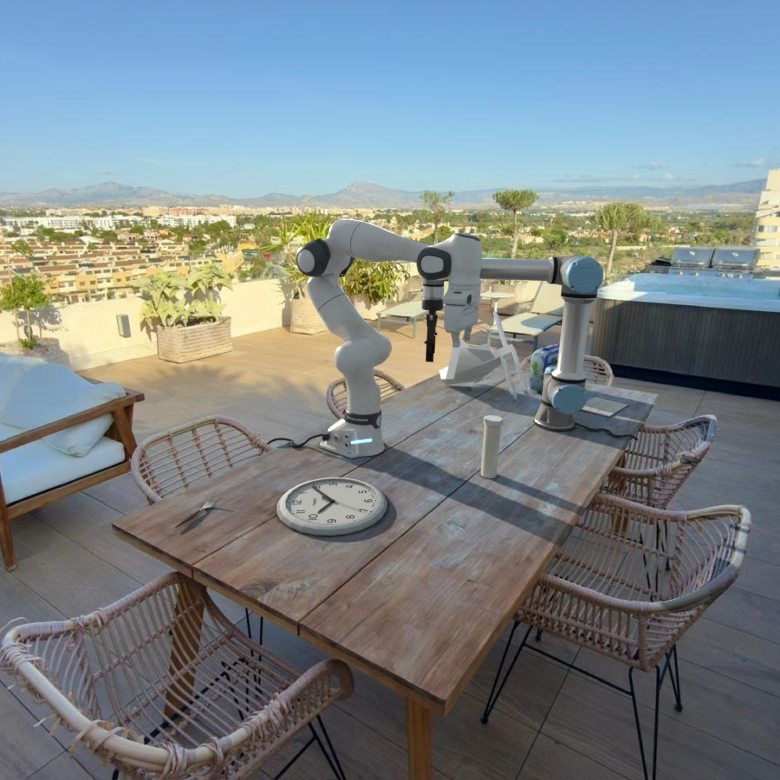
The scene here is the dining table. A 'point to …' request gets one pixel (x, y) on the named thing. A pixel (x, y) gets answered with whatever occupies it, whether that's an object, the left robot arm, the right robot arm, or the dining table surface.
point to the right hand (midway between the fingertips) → (430, 357)
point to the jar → (490, 451)
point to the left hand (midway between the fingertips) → (461, 343)
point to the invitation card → (603, 406)
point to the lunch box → (542, 365)
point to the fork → (206, 505)
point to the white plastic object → (482, 362)
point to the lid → (492, 420)
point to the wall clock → (331, 506)
